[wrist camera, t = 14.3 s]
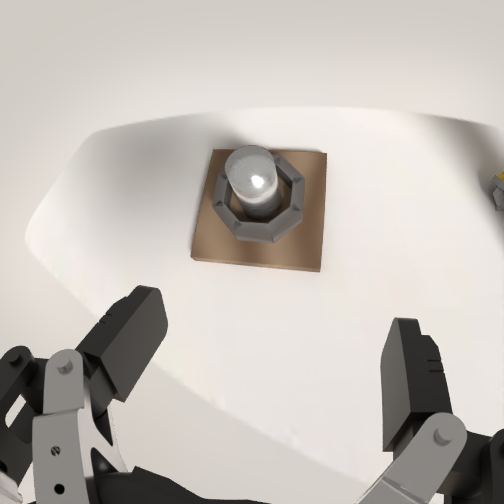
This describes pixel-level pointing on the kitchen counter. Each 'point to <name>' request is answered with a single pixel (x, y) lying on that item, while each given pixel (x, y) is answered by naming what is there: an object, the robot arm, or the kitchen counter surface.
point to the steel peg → (255, 182)
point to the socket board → (268, 232)
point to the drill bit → (499, 191)
